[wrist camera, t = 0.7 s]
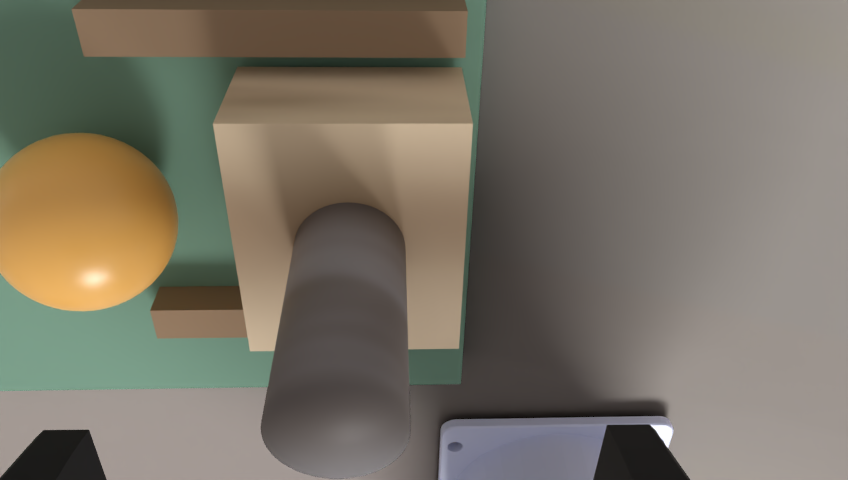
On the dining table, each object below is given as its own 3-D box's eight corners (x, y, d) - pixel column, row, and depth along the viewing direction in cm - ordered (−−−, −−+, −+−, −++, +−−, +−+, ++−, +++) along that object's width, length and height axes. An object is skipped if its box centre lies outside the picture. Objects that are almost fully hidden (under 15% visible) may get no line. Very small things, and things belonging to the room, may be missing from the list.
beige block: (451, 276, 20) (479, 536, 14) (266, 278, 20) (208, 542, 14) (461, 67, 17) (505, 285, 10) (237, 66, 16) (141, 289, 10)
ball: (206, 241, 20) (169, 348, 16) (51, 243, 19) (-17, 350, 16) (179, 102, 17) (130, 192, 14) (4, 102, 17) (-87, 194, 14)
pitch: (458, 361, 24) (463, 408, 22) (-283, 371, 23) (-334, 421, 21) (492, -167, 15) (504, -153, 13) (-703, -185, 14) (-845, -172, 13)
